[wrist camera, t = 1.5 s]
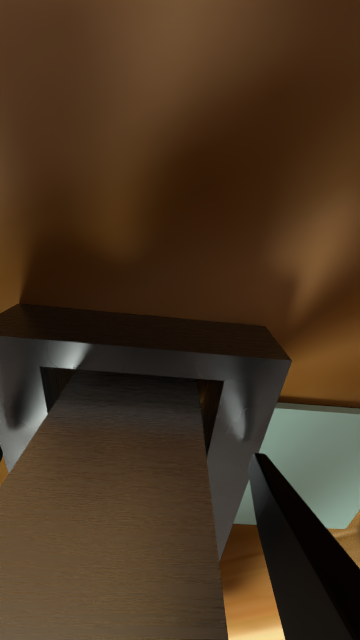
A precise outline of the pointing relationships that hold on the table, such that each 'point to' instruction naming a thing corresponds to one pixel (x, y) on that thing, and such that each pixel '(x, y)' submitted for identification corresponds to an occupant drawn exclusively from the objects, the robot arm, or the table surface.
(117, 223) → the table surface
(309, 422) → the mat
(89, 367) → the rail
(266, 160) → the table surface
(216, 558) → the block
